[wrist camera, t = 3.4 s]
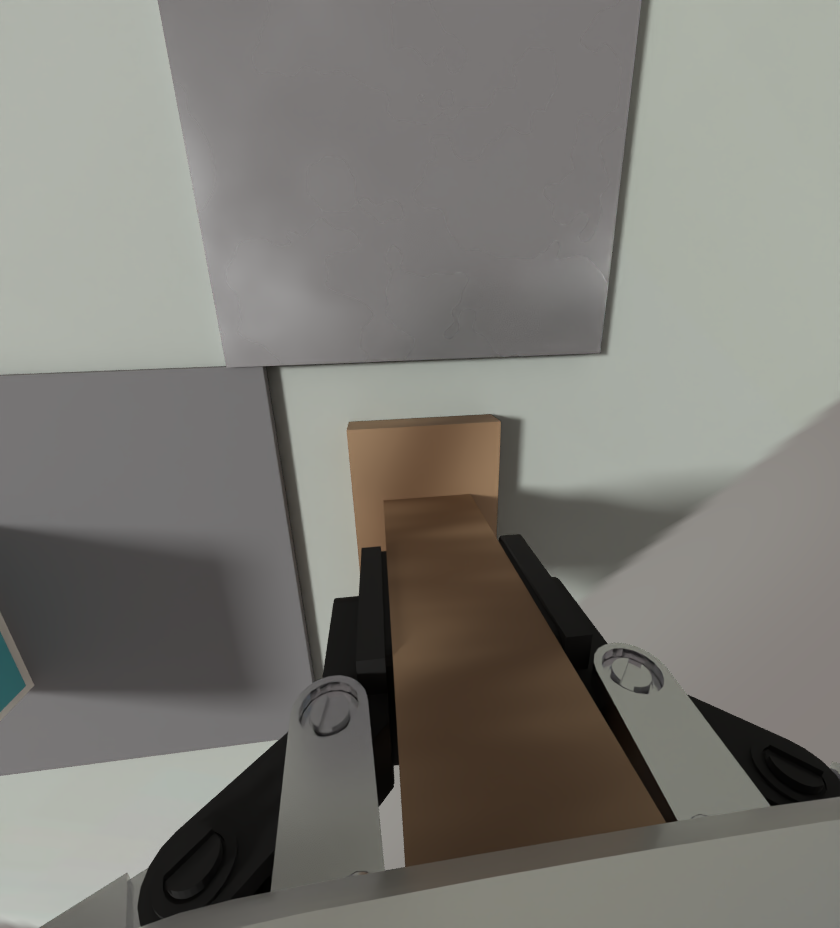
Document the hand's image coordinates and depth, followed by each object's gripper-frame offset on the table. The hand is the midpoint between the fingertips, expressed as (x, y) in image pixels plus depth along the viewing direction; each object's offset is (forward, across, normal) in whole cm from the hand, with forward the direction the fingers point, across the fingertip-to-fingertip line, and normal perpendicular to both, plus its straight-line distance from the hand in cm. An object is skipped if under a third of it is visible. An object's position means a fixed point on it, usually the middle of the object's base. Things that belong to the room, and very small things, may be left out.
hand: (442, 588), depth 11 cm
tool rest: (+4, 0, -11) cm, 12 cm away
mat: (+4, +13, +2) cm, 14 cm away
